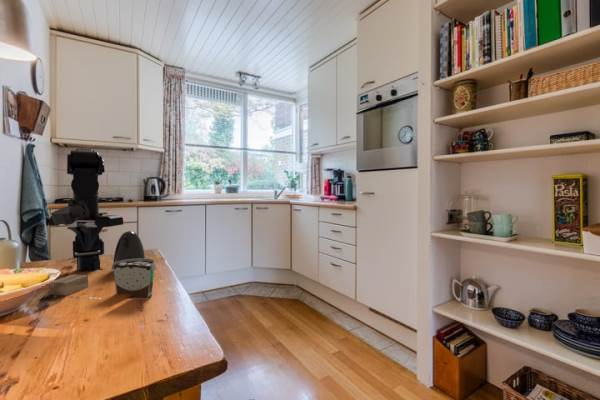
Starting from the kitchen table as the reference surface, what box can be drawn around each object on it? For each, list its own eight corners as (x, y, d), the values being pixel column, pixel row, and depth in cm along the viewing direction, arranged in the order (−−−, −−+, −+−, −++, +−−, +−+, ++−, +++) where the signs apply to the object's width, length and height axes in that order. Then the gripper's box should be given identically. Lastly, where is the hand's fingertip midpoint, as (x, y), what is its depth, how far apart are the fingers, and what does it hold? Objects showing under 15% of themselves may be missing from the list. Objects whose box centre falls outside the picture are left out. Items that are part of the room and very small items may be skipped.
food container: (165, 291, 86) (165, 258, 85) (153, 299, 80) (152, 263, 79) (126, 290, 87) (126, 257, 86) (111, 297, 81) (111, 262, 80)
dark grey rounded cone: (107, 277, 99) (106, 233, 98) (121, 269, 109) (120, 229, 108) (139, 276, 100) (138, 233, 99) (150, 268, 110) (149, 228, 110)
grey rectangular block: (50, 294, 80) (49, 282, 80) (73, 286, 87) (73, 274, 86) (66, 295, 79) (65, 282, 79) (88, 286, 86) (87, 275, 86)
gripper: (26, 196, 74) (28, 256, 75) (90, 196, 72) (92, 258, 72) (67, 195, 85) (68, 247, 86) (124, 195, 83) (125, 249, 83)
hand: (87, 250), depth 82 cm, fingers closed
